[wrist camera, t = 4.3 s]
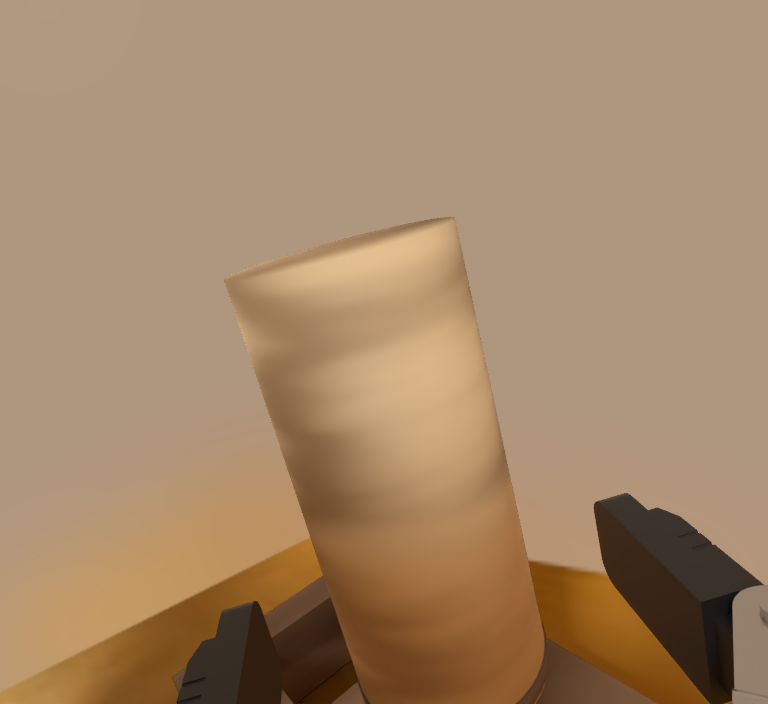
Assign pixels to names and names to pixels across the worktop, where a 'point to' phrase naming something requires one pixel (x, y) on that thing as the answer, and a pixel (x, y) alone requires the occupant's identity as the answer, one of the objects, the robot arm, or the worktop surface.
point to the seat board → (330, 653)
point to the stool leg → (399, 462)
